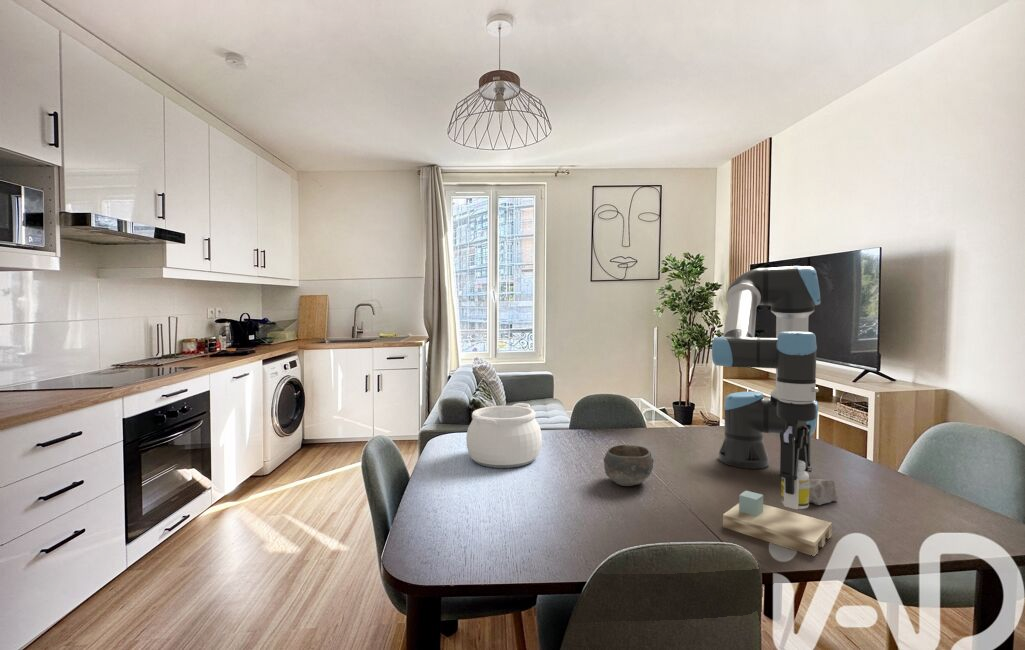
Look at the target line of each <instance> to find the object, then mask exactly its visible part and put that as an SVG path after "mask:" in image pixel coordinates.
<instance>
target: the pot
mask: <svg viewBox="0 0 1025 650" xmlns="http://www.w3.org/2000/svg"><path fill="white" fill-rule="evenodd" d="M536 414H537V413H536V411H535V410H534V409H533V408H531V404H529V403H526V402H517V403H514V404H512V405H493V406H486V407H481V408H477V409H475V410H473V411H472V414H471V419H472V420H471V422H470V424H469V426H468V428H467V432H466V448H467V452H468V454H469V456H470V458H471V459H472V460H473V462H474V463H476V464H478V465H481V466H483V467H486V468H492V467H493V469H511V468H519V467H523V466H526V465H529V464H531V463H532V462H534V461H535V460H536V459H537V458H538V456H540V455H539V454H540V453H541V450H542V445H543V444H542V443H543V441H542V439H543V436H542V430H541V427H540V424H539V422H538V420H536V419H537V418H536V416H537V415H536Z"/></svg>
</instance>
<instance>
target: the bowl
mask: <svg viewBox="0 0 1025 650" xmlns="http://www.w3.org/2000/svg"><path fill="white" fill-rule="evenodd" d="M652 456H653V455H652V453H651V451H650V450H649V449H648V448H647V447H645V446H640V445H629V444H619V445H615V446H611V447H610V448H609V449H608V450H607V451H606V453H605V456H604V458H603V463H604V465H603V468H604V472H605V474H606V476H607V478H609V479H610V480H611V481H612V482H614V483H615V484H617V485H618V486H619V485H620V486H623V487H632V486H636V485H640V484H642V483H643V482H644V481H646V480H647V479H648V478H649V477H650V476H651V474H652V472H653V469H654V460H655V459H654V458H653V457H652Z"/></svg>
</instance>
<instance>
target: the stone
mask: <svg viewBox="0 0 1025 650" xmlns="http://www.w3.org/2000/svg"><path fill="white" fill-rule="evenodd" d="M838 498H839V497H838V495H837V491H836V485H835V481H834V479H821V478H817V479H816V478H809V503H811V504H814V505H816V506H821V505H825V504H830V503H832V502H837V501H838Z"/></svg>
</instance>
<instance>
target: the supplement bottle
mask: <svg viewBox="0 0 1025 650" xmlns="http://www.w3.org/2000/svg"><path fill="white" fill-rule="evenodd" d="M805 469H806V463H805V462H804V461H801V460H798V470H797V479H799V497H798V509H801V510H803V509H807V508H809V506H810V502H809V479H810V475H809V474H810V473H809V472H807V471H804V470H805ZM780 479H781V481H780V488H781V490H780V494H781V495H780V500H781V503H782V504H783V505H784V478H783V477H780Z"/></svg>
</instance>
